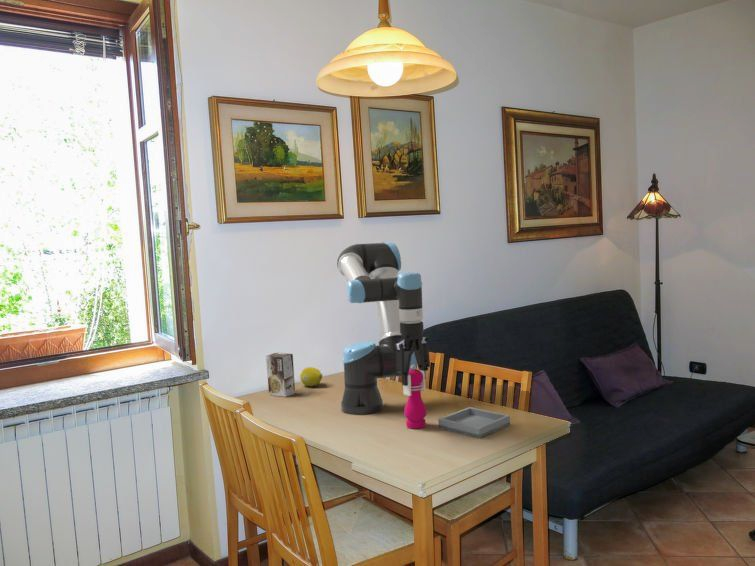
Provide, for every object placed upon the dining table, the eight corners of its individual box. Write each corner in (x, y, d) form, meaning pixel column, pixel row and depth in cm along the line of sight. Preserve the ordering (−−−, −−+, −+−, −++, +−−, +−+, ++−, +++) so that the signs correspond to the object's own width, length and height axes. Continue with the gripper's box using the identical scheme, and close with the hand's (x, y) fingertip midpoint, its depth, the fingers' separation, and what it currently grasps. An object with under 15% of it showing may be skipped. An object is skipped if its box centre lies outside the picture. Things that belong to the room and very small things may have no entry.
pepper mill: (425, 429, 196) (423, 367, 195) (403, 429, 198) (400, 367, 196) (428, 422, 204) (425, 362, 202) (406, 421, 205) (403, 362, 203)
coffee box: (296, 393, 249) (293, 353, 248) (285, 397, 244) (282, 356, 242) (278, 391, 254) (276, 352, 253) (268, 395, 249) (265, 355, 247)
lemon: (296, 386, 261) (295, 367, 260) (311, 382, 266) (310, 364, 265) (311, 390, 253) (310, 371, 252) (327, 386, 258) (325, 367, 257)
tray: (438, 427, 198) (438, 418, 197) (469, 415, 209) (469, 406, 208) (479, 438, 186) (479, 428, 186) (510, 424, 197) (509, 415, 197)
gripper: (399, 326, 188) (402, 401, 191) (439, 318, 201) (442, 388, 204) (381, 324, 194) (385, 397, 196) (422, 316, 207) (425, 384, 209)
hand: (414, 392), depth 200 cm, fingers closed on pepper mill, 6 cm apart
